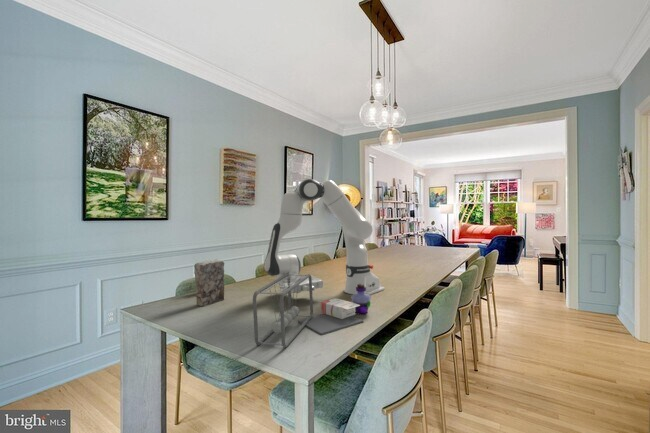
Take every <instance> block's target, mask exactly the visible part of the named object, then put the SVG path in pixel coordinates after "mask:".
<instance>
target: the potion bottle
mask: <svg viewBox="0 0 650 433" xmlns="http://www.w3.org/2000/svg"><path fill="white" fill-rule="evenodd" d="M357 286H358V287H356V291H358V294H351V295H350V298H351V302H353V303H356V304H358V305H360V306H358V307H355V312H356V313H359V314H358V315H360V314H361V315H366V314H365V313H367V314H368V311H369V308H370V307H371V298H372V295H368V294H364V291H366V287H364V284H358V285H357ZM356 313H355V314H356Z"/></svg>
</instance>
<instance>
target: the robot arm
mask: <svg viewBox="0 0 650 433" xmlns="http://www.w3.org/2000/svg"><path fill="white" fill-rule="evenodd" d="M318 199H321V201H323V203H324V204H325V206H326V207H327V208H328V210H329V211H330V212H331V214H332V215H333V217H334V218H335V219H336V220H338V221H339V223H340V224H341V225H342V226H341V228H342V232H343V239H344V243H345V250H346V251H345V252H346V264H345V274H346V276H345V278H346V280H345V283H344V284H345V286H344V288H343V289H344V290H343V292H344V293H346V294H349V295H354V294H358V291H356V287H358V286H357V285H358V284H364V287H366V291H364V294H368V295H370V296H372V295H373V294H376V293H378V292H382V291H384V290H385V286H383V285H381V282H380V279H379V277H378V276H376V274H374V273H373V272H372V271H371V270H373V269H374V268H375V267H374V265H373V264H369V263H368V249H367V247H366V243H365V240H367V239H368V238H370V236H371V235H372V234H373V226H372V223H371V222H369V221H368V220H367V219H366V218H365V217H364V216H363V215H362V213H360V211H359V210H358V209H357V208H355V206H354V205H353V204H352V203H351V201H350V200H349V199H348V197H347V196H346V194H345V193H344V192H343V190H342V189H341V188H340V187H339V186H338V185H337V184H336V183H335V182H334V181H333V180H331V179H327V180H324V181H322V182H320V181H319V180H316V179H312V178H306V179H302V180H301V181H300V183H299V184H298V185H297V187H296V189H295V190H294V191H288V192H286V193H284V194H283V196H282V200H281V205H280V215H279V218H278V221H277V223H274V225H273V227H272V230H271V234H270V239H269V244H268V250H267V254H266V257H265V259H264V263H263V268H264V271H265V272H266V273H267V275H269V276H271V277H275V280H276V279H278V278H280V277H281V276H283V275H285V274H287V273H288V274H292V275H301V274H300V272H301V267H302V265H301V263H302V262H301V259H300V258H299V257H298V256H297V255H296V254H295V253H287V254H279V251H280V245H281V240H282V239H283V238H284V237H285V236H286V235H288V234H290V233H292V232H294V231H296V230H298V228H299V227H300V226H301V224H302V220H303V206H304V204H305V203H306V202H311V201H315V200H318ZM292 275H291V276H290V283H293V282H294V281H296V280H297V279H298V278H300V277H302V276H292ZM310 275H311V274H310ZM303 277H305V276H303ZM303 277H302V278H303ZM311 277H312V292H313V291H315V290H317V289H321V288H323V286H324V281H323V279H322V278H318V277H316V276H313V275H311ZM285 278H286V277H285ZM302 278H301V279H302ZM301 279H299V280H301ZM282 280H283V279H282ZM285 280H287V278H286V279H285ZM299 280H298V281H299ZM280 281H281V280H280ZM280 281H279V282H280ZM298 281H296V282H298ZM277 283H278V282H277ZM286 283H288V281H284V282H283V281H282V282H280V283H278V284H277V285H279V284H280V286H279V289H280V288H281V290H282V289H284V288H286V287H287V286H288V284H286ZM294 284H295V283H293V284H292V285H294ZM284 285H285V287H284ZM290 287H291V286H290ZM297 289H298V291H297ZM286 290H287V288H286ZM284 291H285V290H284ZM284 291H283V292H284ZM306 291H307V292H309V277H308V278H307V279H306V280H304V281H303V282H302V283H300V284H299V285H298V286H296V287H295V290H294V289H292V290H291V295H293V294H299V293H302V292H306ZM287 295H288V293H287Z"/></svg>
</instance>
